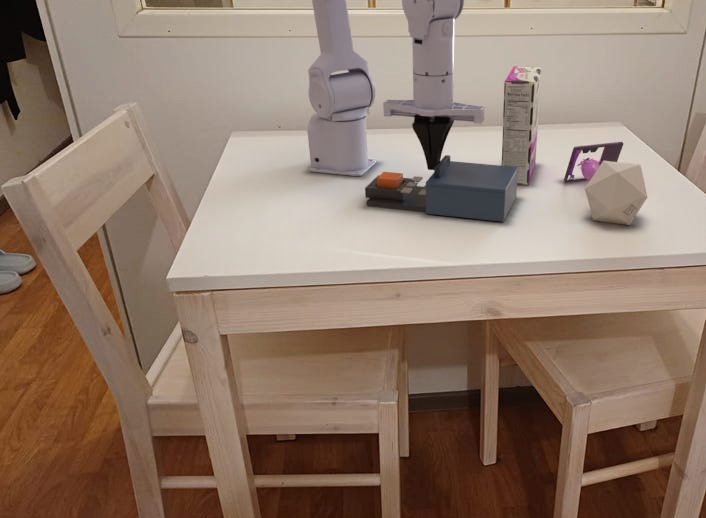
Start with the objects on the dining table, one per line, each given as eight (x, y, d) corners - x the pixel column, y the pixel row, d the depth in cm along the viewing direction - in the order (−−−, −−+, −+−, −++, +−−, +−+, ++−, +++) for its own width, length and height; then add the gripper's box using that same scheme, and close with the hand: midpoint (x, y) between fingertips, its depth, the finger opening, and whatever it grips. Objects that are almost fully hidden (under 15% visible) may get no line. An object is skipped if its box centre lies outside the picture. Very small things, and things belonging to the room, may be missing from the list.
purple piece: (620, 138, 117) (571, 143, 114) (635, 158, 114) (585, 163, 112) (608, 172, 122) (561, 178, 120) (622, 192, 119) (574, 198, 117)
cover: (425, 213, 106) (425, 171, 103) (444, 190, 115) (444, 150, 111) (503, 222, 104) (505, 179, 100) (516, 197, 112) (518, 157, 109)
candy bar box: (507, 163, 127) (512, 65, 118) (535, 165, 127) (543, 66, 118) (498, 184, 118) (503, 79, 109) (528, 186, 117) (536, 81, 108)
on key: (377, 187, 110) (376, 178, 109) (383, 181, 113) (383, 171, 112) (397, 189, 109) (396, 180, 108) (403, 183, 112) (403, 173, 111)
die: (613, 240, 101) (663, 183, 97) (565, 199, 102) (613, 141, 99) (618, 239, 109) (665, 186, 105) (574, 201, 110) (619, 147, 106)
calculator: (362, 206, 109) (361, 190, 108) (381, 187, 116) (380, 172, 115) (462, 217, 106) (463, 200, 105) (475, 197, 113) (476, 181, 112)
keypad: (400, 192, 107) (400, 191, 107) (414, 177, 113) (414, 176, 113) (453, 197, 106) (453, 196, 105) (464, 182, 111) (464, 181, 111)
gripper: (374, 74, 98) (378, 171, 106) (477, 81, 95) (474, 180, 103) (390, 64, 104) (394, 157, 112) (488, 70, 101) (485, 165, 109)
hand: (433, 167), depth 108 cm, fingers closed
